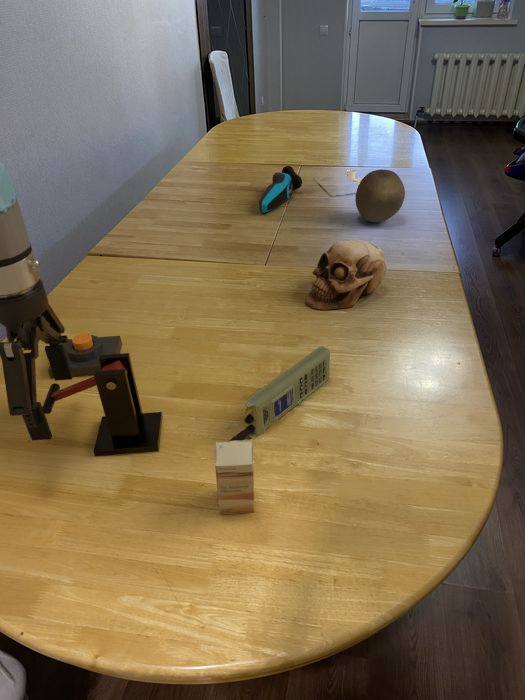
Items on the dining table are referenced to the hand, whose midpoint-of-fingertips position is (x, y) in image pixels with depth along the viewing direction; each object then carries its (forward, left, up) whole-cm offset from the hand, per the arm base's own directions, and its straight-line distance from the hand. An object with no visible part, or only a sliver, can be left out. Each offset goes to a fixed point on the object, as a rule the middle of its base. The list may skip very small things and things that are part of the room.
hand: (54, 406), depth 80 cm
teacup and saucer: (+72, +118, -7) cm, 138 cm away
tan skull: (+54, +41, -7) cm, 68 cm away
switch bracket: (+10, 0, -7) cm, 13 cm away
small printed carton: (+27, -15, -7) cm, 32 cm away
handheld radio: (+35, +3, -7) cm, 36 cm away
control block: (-1, +22, -7) cm, 23 cm away
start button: (-1, +22, -4) cm, 22 cm away
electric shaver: (+45, +105, -7) cm, 114 cm away
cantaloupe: (+73, +83, -7) cm, 111 cm away
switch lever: (+6, 0, +3) cm, 7 cm away
